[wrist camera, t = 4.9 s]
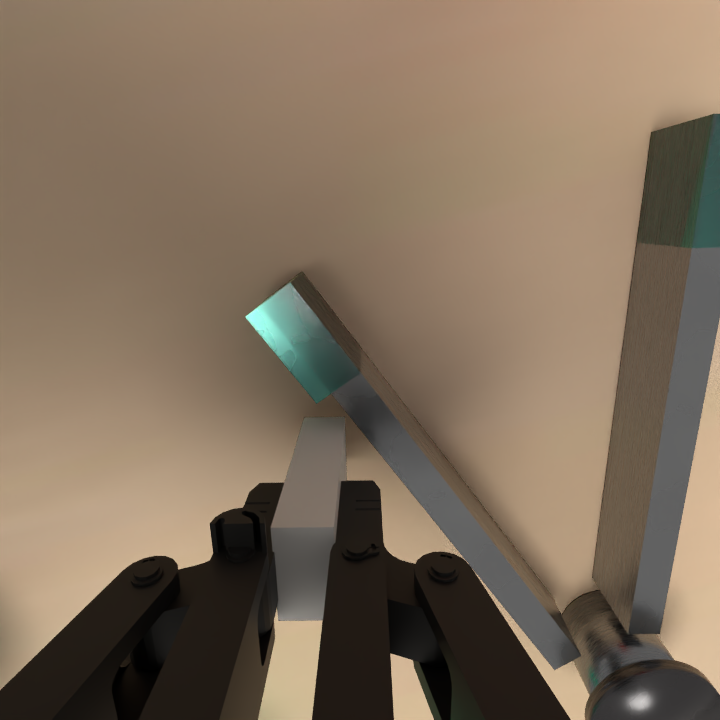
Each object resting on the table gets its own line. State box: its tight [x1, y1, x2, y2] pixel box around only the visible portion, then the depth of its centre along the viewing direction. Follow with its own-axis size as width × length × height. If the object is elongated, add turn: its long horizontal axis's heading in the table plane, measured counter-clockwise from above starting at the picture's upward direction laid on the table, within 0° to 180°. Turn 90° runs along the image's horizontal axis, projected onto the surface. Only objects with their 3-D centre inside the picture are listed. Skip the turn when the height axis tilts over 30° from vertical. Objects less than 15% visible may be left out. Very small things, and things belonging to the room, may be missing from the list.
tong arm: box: [246, 272, 581, 670], centre depth 18 cm, size 18×2×3 cm, turn 37°
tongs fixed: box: [562, 114, 720, 720], centre depth 17 cm, size 23×5×5 cm, turn 2°
